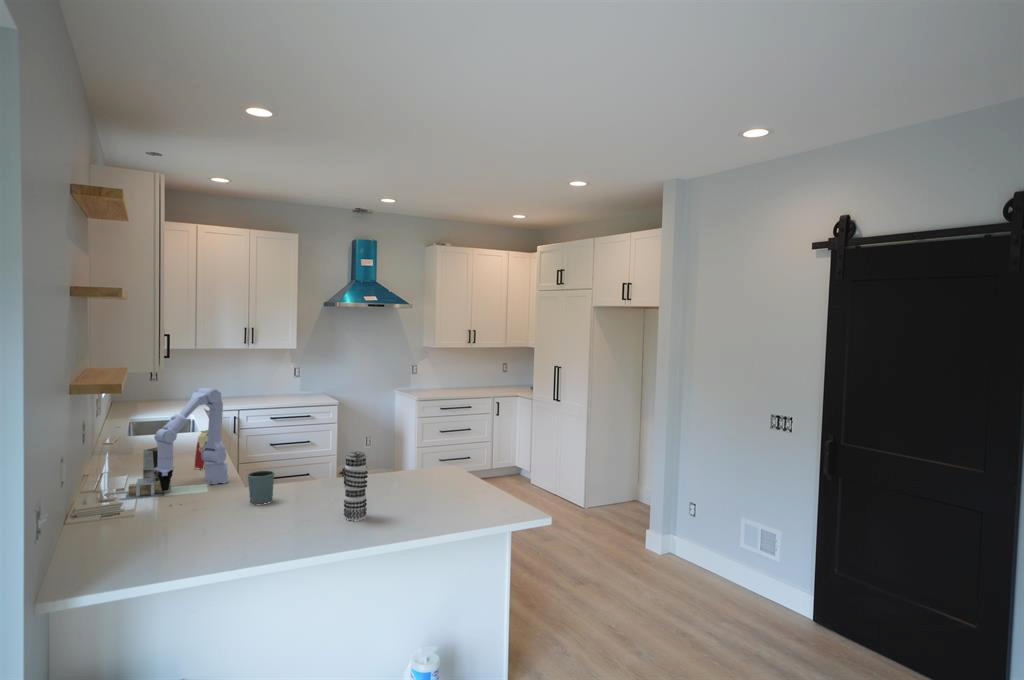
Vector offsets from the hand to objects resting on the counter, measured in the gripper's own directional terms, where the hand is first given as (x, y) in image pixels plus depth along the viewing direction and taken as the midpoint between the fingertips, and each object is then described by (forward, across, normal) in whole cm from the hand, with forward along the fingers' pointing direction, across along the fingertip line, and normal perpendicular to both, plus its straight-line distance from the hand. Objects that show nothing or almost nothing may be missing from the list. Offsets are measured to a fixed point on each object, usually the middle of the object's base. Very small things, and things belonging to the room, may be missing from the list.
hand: (165, 489), depth 259 cm
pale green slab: (+3, 0, -3) cm, 4 cm away
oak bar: (+1, 0, -6) cm, 6 cm away
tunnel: (+1, 0, -7) cm, 7 cm away
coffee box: (+3, -22, -4) cm, 23 cm away
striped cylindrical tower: (+3, +63, +65) cm, 91 cm away
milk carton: (+3, -46, +17) cm, 49 cm away
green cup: (+3, +27, +35) cm, 44 cm away
